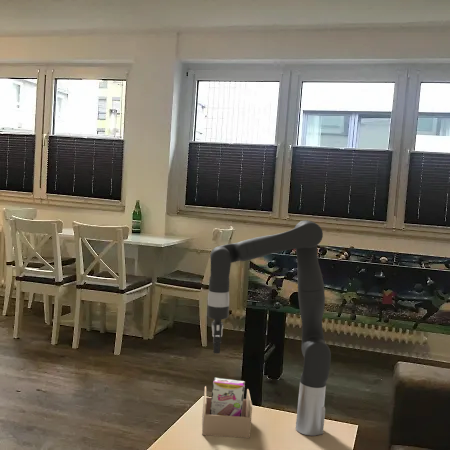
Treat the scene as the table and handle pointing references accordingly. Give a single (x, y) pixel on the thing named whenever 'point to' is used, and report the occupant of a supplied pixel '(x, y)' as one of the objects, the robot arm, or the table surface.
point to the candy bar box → (227, 397)
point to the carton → (227, 420)
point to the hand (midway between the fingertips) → (216, 349)
